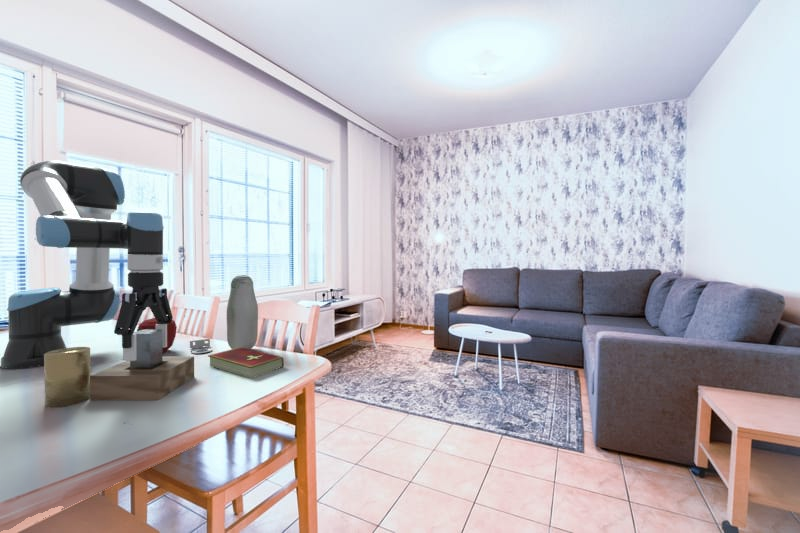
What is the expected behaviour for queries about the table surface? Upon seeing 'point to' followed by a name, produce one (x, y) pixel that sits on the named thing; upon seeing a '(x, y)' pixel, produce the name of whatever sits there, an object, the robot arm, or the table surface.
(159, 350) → the square bit
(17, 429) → the table surface
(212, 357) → the hardcover book
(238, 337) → the grey rounded tall shape
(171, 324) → the apple
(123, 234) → the robot arm
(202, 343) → the bracket
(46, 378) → the round bit
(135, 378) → the socket block
